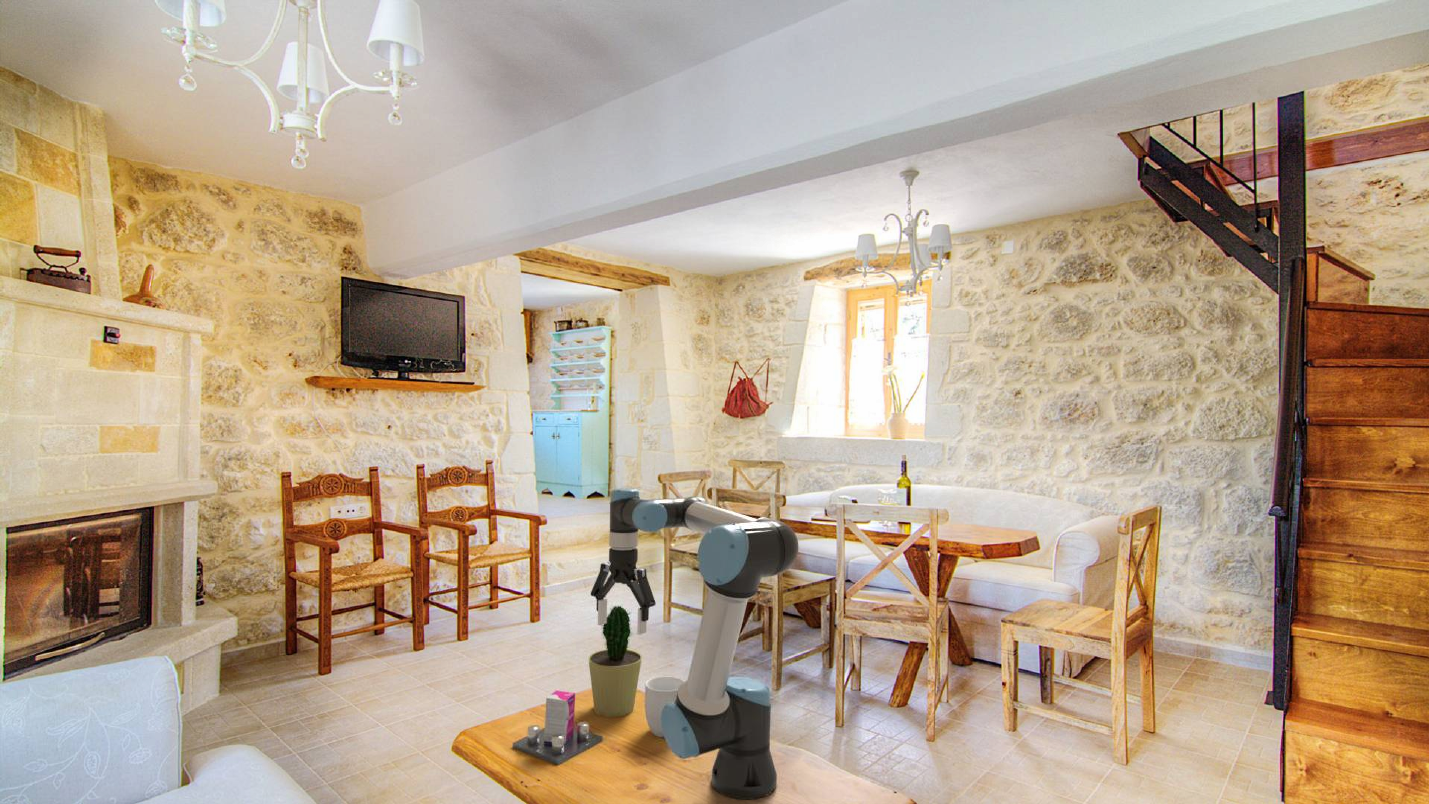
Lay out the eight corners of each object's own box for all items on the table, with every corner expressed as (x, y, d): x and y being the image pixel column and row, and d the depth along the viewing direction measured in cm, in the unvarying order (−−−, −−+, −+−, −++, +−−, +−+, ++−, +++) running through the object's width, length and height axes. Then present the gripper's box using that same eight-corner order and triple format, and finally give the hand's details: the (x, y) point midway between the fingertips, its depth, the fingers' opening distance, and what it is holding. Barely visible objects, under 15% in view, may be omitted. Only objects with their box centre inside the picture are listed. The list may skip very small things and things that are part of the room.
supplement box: (564, 746, 177) (566, 700, 177) (543, 743, 178) (544, 698, 179) (574, 736, 183) (575, 692, 183) (553, 733, 184) (554, 689, 184)
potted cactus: (595, 696, 212) (597, 596, 212) (645, 699, 210) (647, 598, 211) (580, 718, 196) (582, 610, 197) (634, 721, 195) (636, 612, 195)
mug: (695, 721, 196) (696, 674, 196) (703, 738, 185) (704, 688, 185) (641, 725, 192) (642, 677, 193) (646, 743, 182) (647, 692, 182)
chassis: (602, 740, 183) (603, 723, 183) (557, 765, 169) (558, 746, 170) (558, 725, 192) (558, 708, 192) (512, 747, 178) (512, 729, 178)
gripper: (670, 550, 181) (668, 633, 181) (597, 540, 195) (596, 617, 194) (652, 555, 175) (650, 641, 175) (578, 544, 189) (576, 623, 188)
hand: (621, 628), depth 185 cm, fingers open, 13 cm apart
